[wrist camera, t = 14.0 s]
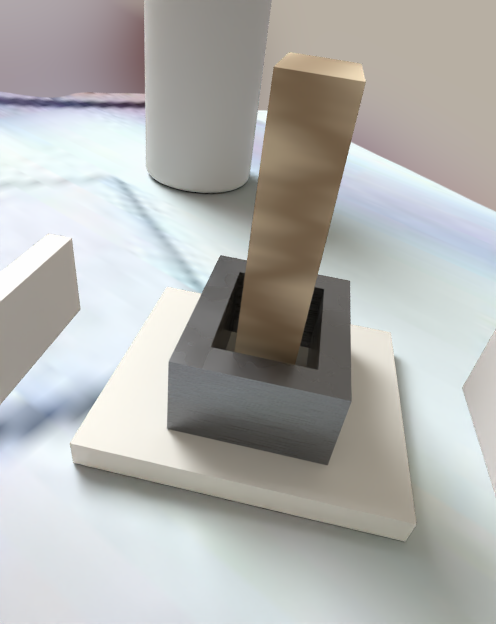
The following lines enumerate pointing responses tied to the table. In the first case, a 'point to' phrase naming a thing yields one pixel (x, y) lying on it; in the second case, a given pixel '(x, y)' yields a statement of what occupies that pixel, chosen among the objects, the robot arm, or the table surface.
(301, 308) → the ash slat
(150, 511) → the table surface
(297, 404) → the grey rectangular socket
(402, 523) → the base board
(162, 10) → the cylinder vase
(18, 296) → the robot arm
